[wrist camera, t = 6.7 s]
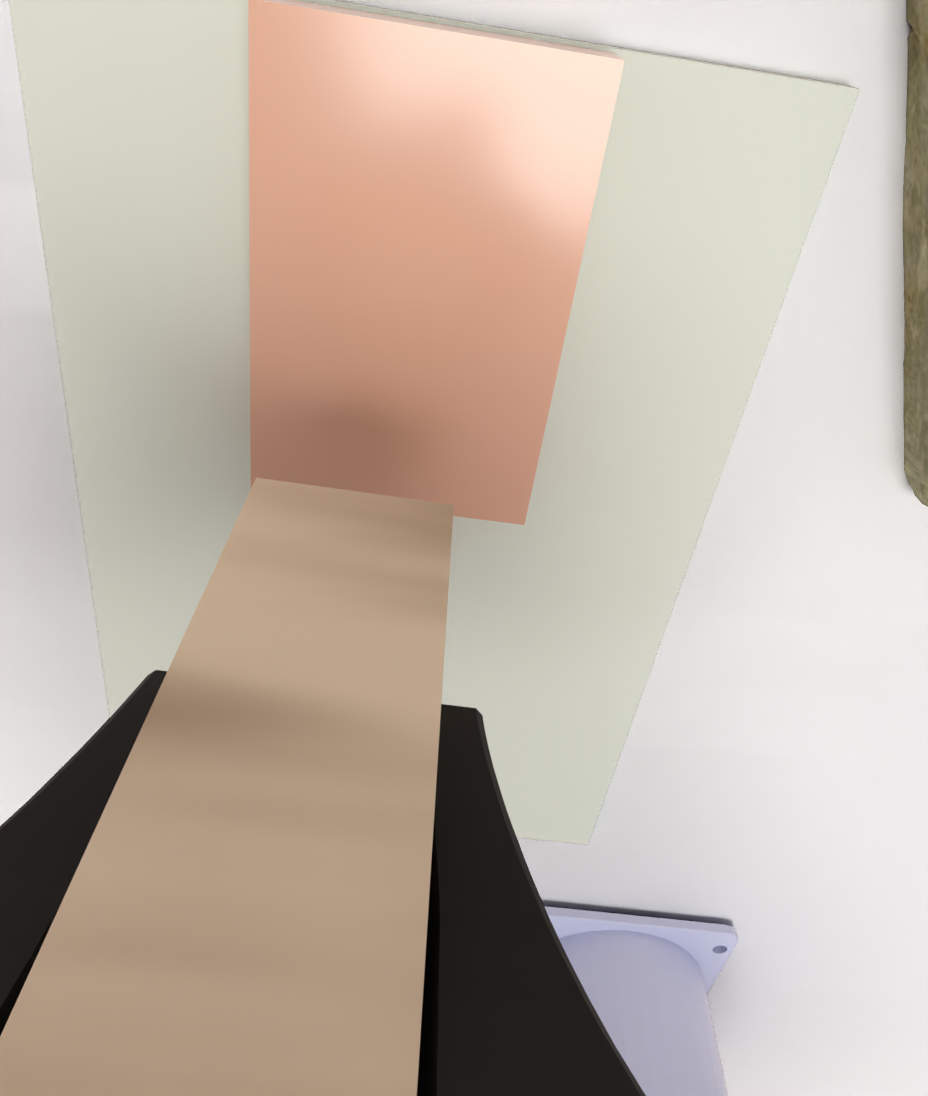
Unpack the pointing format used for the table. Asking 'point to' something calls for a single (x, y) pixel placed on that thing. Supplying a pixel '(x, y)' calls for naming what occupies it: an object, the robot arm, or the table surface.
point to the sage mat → (578, 397)
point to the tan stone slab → (916, 254)
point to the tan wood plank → (264, 829)
